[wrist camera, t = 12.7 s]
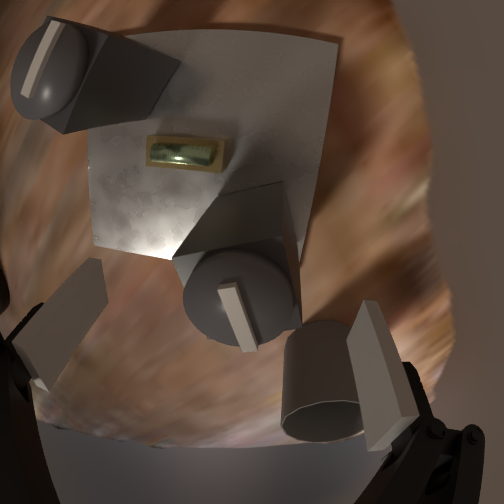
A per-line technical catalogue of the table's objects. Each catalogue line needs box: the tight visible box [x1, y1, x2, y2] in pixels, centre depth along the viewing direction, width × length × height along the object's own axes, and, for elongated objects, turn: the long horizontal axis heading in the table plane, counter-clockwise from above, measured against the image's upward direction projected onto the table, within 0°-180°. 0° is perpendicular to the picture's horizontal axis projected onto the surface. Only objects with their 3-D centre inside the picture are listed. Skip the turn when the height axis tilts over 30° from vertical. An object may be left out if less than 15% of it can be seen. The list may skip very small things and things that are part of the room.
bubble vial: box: [146, 134, 229, 174], centre depth 20 cm, size 6×2×3 cm, turn 83°
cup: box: [281, 320, 364, 443], centre depth 26 cm, size 8×8×10 cm
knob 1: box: [11, 16, 180, 135], centre depth 13 cm, size 5×5×11 cm
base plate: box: [88, 29, 338, 262], centre depth 22 cm, size 20×20×1 cm
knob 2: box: [172, 182, 303, 352], centre depth 18 cm, size 5×5×11 cm
